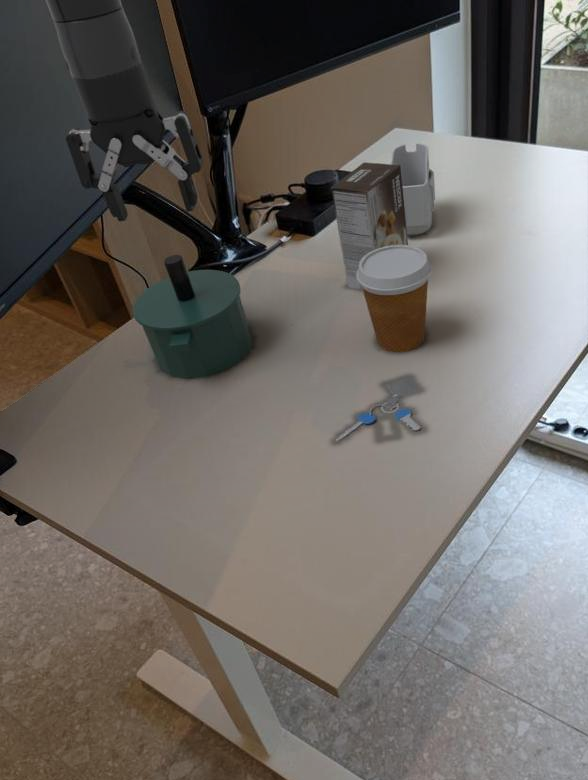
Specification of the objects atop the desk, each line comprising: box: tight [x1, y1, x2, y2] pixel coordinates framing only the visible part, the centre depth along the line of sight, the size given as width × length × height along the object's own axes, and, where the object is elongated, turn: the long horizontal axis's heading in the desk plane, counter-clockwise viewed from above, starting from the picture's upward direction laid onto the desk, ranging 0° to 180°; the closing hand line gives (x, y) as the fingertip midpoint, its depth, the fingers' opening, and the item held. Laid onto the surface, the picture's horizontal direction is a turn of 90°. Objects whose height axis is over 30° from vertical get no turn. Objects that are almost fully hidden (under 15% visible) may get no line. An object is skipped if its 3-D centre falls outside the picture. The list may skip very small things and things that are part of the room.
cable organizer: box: [390, 142, 436, 236], centre depth 113 cm, size 7×12×12 cm, turn 175°
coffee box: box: [330, 162, 409, 291], centre depth 100 cm, size 9×6×16 cm
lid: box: [132, 254, 242, 331], centre depth 90 cm, size 15×15×7 cm
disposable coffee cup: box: [356, 244, 432, 353], centre depth 89 cm, size 10×10×12 cm
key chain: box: [335, 377, 421, 442], centre depth 82 cm, size 14×8×1 cm, turn 147°
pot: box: [142, 295, 253, 380], centre depth 95 cm, size 14×19×8 cm
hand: (157, 213), depth 83 cm, fingers open, 8 cm apart
